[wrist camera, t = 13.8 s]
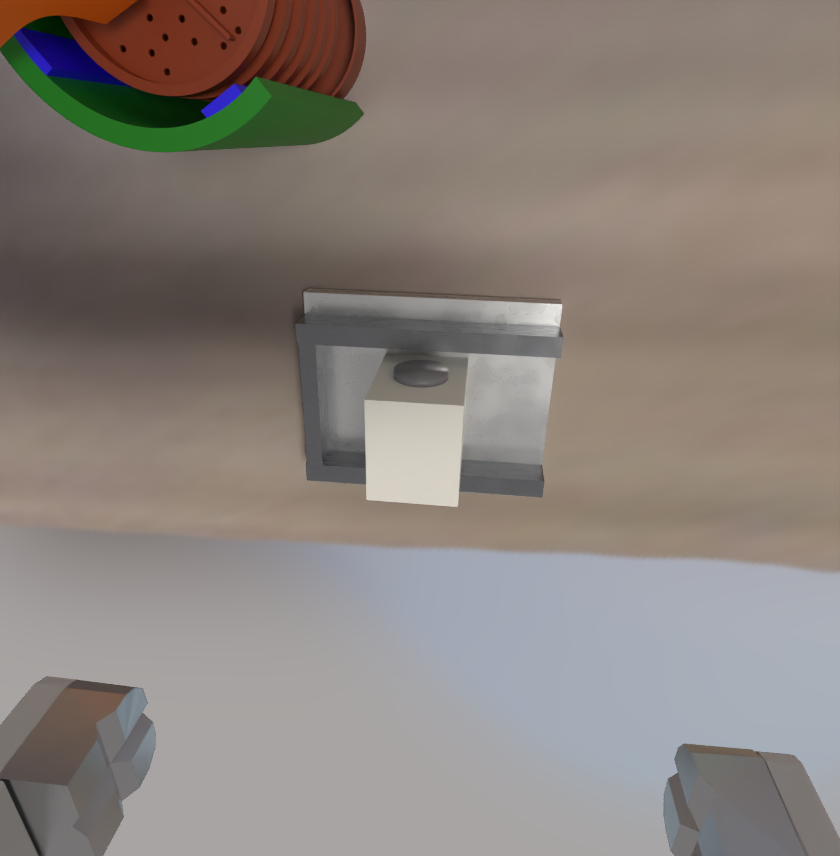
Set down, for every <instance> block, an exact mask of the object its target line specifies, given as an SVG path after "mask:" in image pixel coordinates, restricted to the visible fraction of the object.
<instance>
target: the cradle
mask: <svg viewBox="0 0 840 856" xmlns="http://www.w3.org/2000/svg"><path fill="white" fill-rule="evenodd" d="M303 295H304V310H305V314H304V315H303V316H302V317H301V318H300V319H299V320H298V321H297V322H296V323H295V329H296V342H297V344H298V346H299V360H300V373H301V387H302V400H303V413H304V427H305V440H306V454H307V463H306V474H307V480H311V481H321V482H335V483H348V484H362V485H366V450H365V405H364V399H365V397H366V395H367V393H368V391H369V389H370V386H371V384H372V382H373V380H374V378H375V376H376V373H377V371H378V369H379V367H380V365H381V363H382V360H383V358H384V356H385V354H386V353H392V354H410V355H428V356H446V357H464V358H468V373H467V389H466V405H465V422H464V438H463V452H462V464H461V476H460V488H459V492H471V493H485V494H498V495H512V496H526V497H542V494H543V487H544V476H543V470H542V459H543V451H544V443H545V436H546V428H547V420H548V412H549V405H550V397H551V389H552V381H553V374H554V366H555V358H561V352H562V344H563V335H562V332H561V329H560V319H561V312H562V302H561V300H554V299H532V298H510V297H488V296H467V295H445V294H423V293H401V292H380V291H358V290H336V289H315V288H308V289H306V290H305V291H304V292H303Z"/></svg>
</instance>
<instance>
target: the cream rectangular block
mask: <svg viewBox="0 0 840 856" xmlns="http://www.w3.org/2000/svg"><path fill="white" fill-rule="evenodd" d="M467 373H468V358H464V357H446V356H428V355H410V354H392V353H386V354H385V356H384V358H383V360H382V363H381V365H380V367H379V369H378V371H377V373H376V376H375V378H374V380H373V382H372V384H371V386H370V389H369V391H368V393H367V395H366V397H365V399H364V405H365V450H366V495H367V500H375V501H388V502H401V503H414V504H427V505H440V506H453V507H458V500H459V488H460V476H461V464H462V452H463V438H464V422H465V405H466V389H467Z"/></svg>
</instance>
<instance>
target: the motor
mask: <svg viewBox="0 0 840 856" xmlns="http://www.w3.org/2000/svg"><path fill="white" fill-rule="evenodd" d="M365 46H366V26H365V19H364V13H363V9H362V5H361V2H360V0H0V51H1V53H2V54H3V55H4V57H5V58H6V60H7V61H8V62H9V64H10V65H11V66H12V67H13V69H14V70H15V71H16V72H17V74H18V75H19V76H20V77H21V78H22V79H23V80H24V82H25V83H26V84H27V85H28V86H29V87H30V88H31V89H32V90H33V91H34V92H35V93H36V94H37V95H38V96H39V97H40V98H41V99H42V100H43V101H45V102H46V103H47V104H48V105H49V106H50V107H52V108H53V109H54V110H55V111H57V112H58V113H59V114H61V115H62V116H63V117H65V118H66V119H67V120H69V121H71V122H72V123H74V124H75V125H77V126H78V127H80V128H82V129H84V130H85V131H87V132H89V133H91V134H93V135H95V136H97V137H99V138H102V139H104V140H106V141H109V142H112V143H115V144H118V145H121V146H124V147H128V148H132V149H137V150H143V151H152V152H178V151H197V150H215V149H234V148H253V147H272V146H291V145H308V144H315V143H319V142H323V141H326V140H329V139H331V138H333V137H336V136H338V135H339V134H341V133H343V132H344V131H346V130H347V129H349V128H350V127H351V126H352V125H354V124H355V123H356V122H357V121H358V120H359V119H360V118H361V117H362V116H363V114H364V113H363V111H362V110H361V109H360V108H359V106H358V105H357V104H356V103H355V102H351V101H347V100H343V98H344V97H345V96H346V95H347V94H348V92H349V91H350V90H351V88H352V87H353V85H354V83H355V81H356V79H357V77H358V75H359V72H360V70H361V66H362V63H363V59H364V54H365Z"/></svg>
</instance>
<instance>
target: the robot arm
mask: <svg viewBox="0 0 840 856" xmlns="http://www.w3.org/2000/svg"><path fill="white" fill-rule="evenodd" d="M147 703H148V702H147V699H146V696H145V693H144V690H143V688H137V687H129V686H122V685H114V684H106V683H98V682H89V681H81V680H76V679H67V678H57V677H48V676H46V677H45V678H43V679H42V680H40V681H39V682H37V683H35V684H34V685H33V686H32V687H31V689H30V690H29V691H28V692H27V694H26V695H25V696H24V697H23V698H22V699H21V701H20V702H19V703H18V704H17V706H16V707H15V708H14V709H13V710H12V712H11V713H10V714H9V715H8V716H7V718H6V719H5V720H4V721H3V722H2V724H1V725H0V856H103V855H104V853H105V851H106V849H107V847H108V845H109V844H110V842H111V840H112V838H113V836H114V834H115V833H116V831H117V829H118V827H119V825H120V823H121V821H122V820H123V817H124V815H123V806H122V800H124V799H125V798H126V797H128V796H129V795H130V794H132V793H133V792H134V791H135V790H137V789H138V788H139V787H140V785H141V784H142V782H143V780H144V778H145V776H146V774H147V772H148V770H149V768H150V764H151V761H152V757H153V754H154V750H155V742H156V741H155V740H156V732H155V728H154V724H153V722H152V721H151V720H150V719H149V718H148V717H146V715H145V714H143V713H142V712H143V710H144V708H145V707H146V705H147ZM674 760H675V764H676V767H677V770H678V773H677V774H675V775H673V776H672V777H670V778H669V779H668V781H667V784H666V788H665V792H664V821H665V828H666V834H667V838H668V842H669V846H670V851H671V852H672V853H673V854H674V856H840V838H839V836H838V834H837V832H836V830H835V828H834V826H833V824H832V822H831V820H830V818H829V816H828V814H827V812H826V810H825V808H824V806H823V804H822V802H821V800H820V798H819V796H818V794H817V792H816V790H815V788H814V786H813V784H812V782H811V780H810V778H809V776H808V774H807V773H806V770H805V768H804V766H803V764H802V763H801V762H800V761H799V760H798V759H797V758H796V757H795V756H794V755H789V754H780V753H769V752H758V751H757V752H756V751H753V750H750V749H738V748H727V747H716V746H705V745H693V744H682V745H681V746H680V747H679V748H678V750H677V753H676V756H675V759H674Z"/></svg>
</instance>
